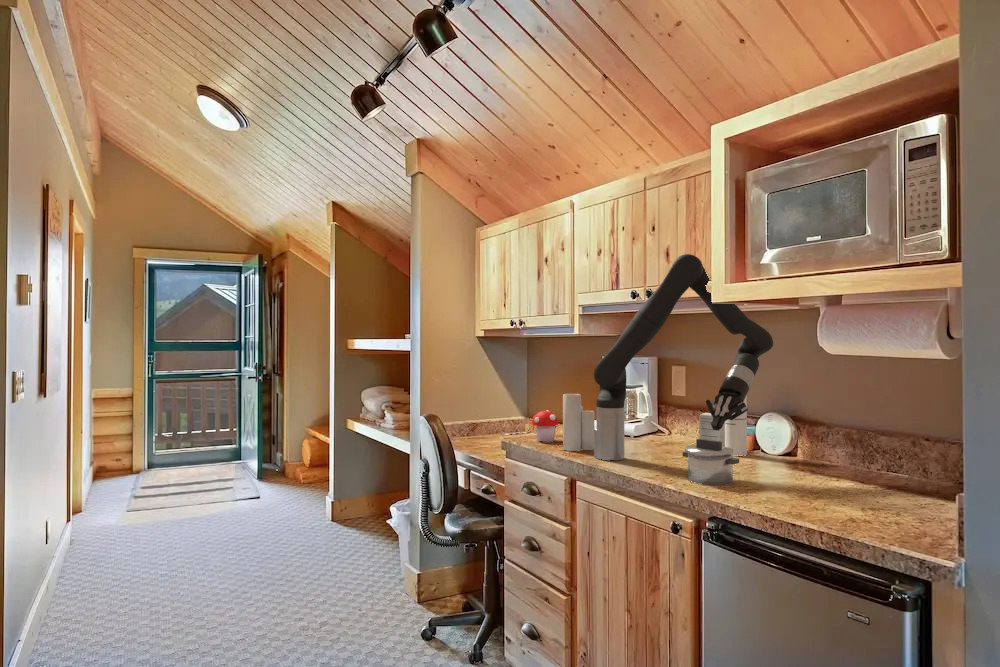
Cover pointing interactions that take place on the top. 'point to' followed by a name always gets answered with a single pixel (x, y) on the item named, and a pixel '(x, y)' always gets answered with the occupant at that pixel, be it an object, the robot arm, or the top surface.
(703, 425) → the supplement box
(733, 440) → the cylindrical container
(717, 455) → the lid
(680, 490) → the top surface
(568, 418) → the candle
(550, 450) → the top surface
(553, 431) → the mushroom
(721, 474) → the pot
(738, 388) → the robot arm
